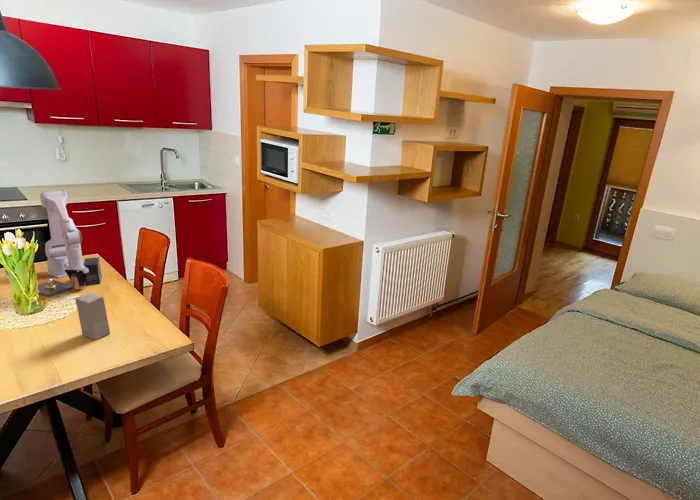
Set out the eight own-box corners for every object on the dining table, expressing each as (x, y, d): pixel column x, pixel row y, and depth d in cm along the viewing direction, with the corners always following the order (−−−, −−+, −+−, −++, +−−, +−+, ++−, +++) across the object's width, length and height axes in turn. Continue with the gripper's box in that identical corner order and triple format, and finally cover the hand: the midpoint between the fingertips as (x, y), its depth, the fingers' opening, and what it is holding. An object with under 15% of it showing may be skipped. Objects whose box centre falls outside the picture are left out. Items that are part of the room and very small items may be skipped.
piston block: (27, 289, 203) (25, 279, 202) (53, 281, 214) (52, 272, 212) (48, 296, 198) (46, 286, 196) (74, 288, 208) (72, 278, 207)
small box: (87, 277, 221) (84, 257, 218) (101, 276, 224) (99, 256, 221) (85, 285, 212) (82, 264, 209) (100, 283, 215) (98, 263, 212)
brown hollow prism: (70, 287, 205) (68, 275, 203) (80, 284, 209) (78, 272, 208) (77, 290, 203) (75, 277, 202) (86, 286, 208) (85, 274, 206)
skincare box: (110, 334, 170) (106, 296, 165) (92, 341, 164) (87, 302, 159) (97, 328, 174) (93, 290, 169) (79, 335, 168) (74, 296, 163)
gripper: (55, 256, 201) (59, 283, 205) (76, 262, 196) (80, 290, 200) (70, 252, 207) (74, 279, 211) (91, 258, 202) (94, 285, 206)
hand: (78, 284), depth 206 cm, fingers closed on brown hollow prism, 5 cm apart
